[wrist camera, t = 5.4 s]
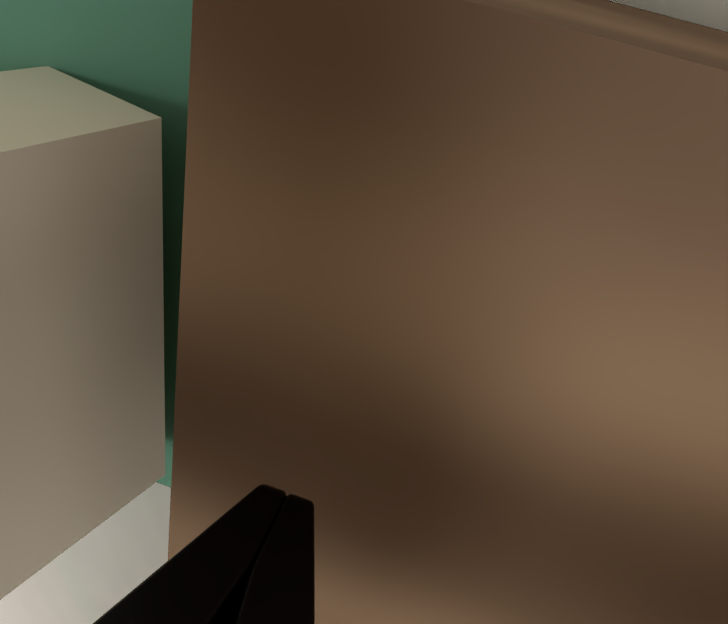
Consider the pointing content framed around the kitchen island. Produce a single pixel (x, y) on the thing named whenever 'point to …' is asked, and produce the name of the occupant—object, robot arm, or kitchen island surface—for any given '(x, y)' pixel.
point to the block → (76, 313)
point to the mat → (132, 84)
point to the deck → (462, 303)
